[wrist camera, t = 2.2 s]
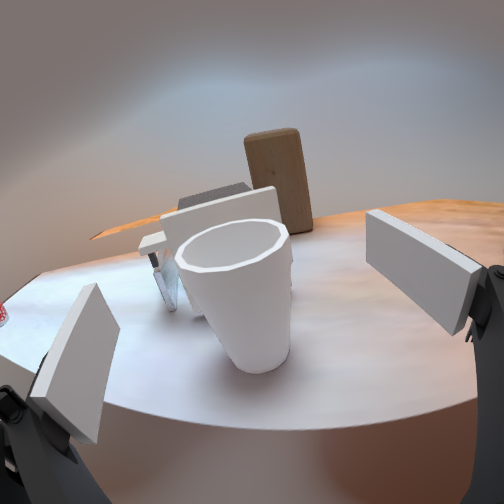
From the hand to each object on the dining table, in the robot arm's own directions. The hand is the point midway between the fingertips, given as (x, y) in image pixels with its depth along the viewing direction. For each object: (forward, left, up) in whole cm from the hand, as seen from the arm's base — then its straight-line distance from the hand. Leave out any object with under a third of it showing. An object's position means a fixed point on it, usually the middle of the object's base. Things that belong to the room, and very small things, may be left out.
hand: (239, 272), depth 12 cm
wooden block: (+28, -32, -16) cm, 46 cm away
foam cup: (+8, -5, -16) cm, 19 cm away
